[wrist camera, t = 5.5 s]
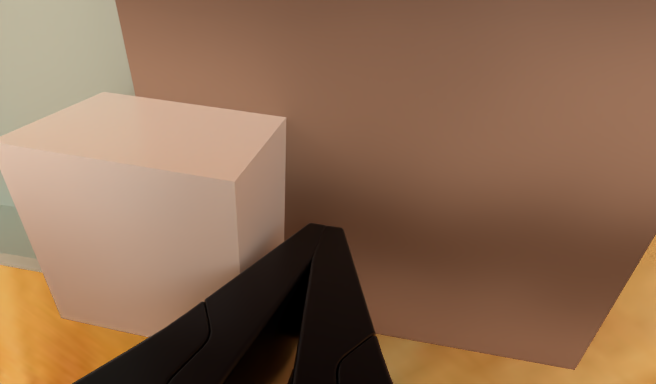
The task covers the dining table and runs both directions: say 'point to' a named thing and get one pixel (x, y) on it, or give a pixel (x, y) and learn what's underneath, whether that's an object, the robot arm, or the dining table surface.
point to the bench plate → (443, 147)
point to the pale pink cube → (145, 203)
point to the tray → (52, 80)
